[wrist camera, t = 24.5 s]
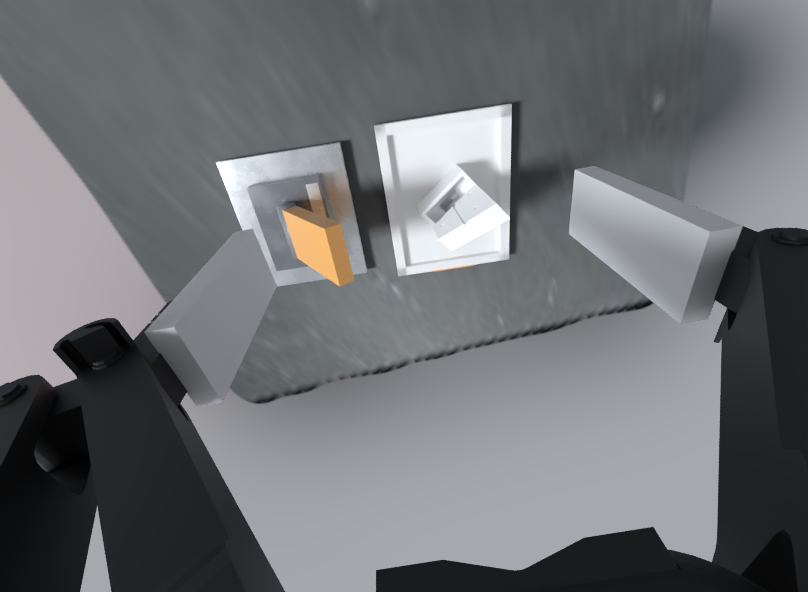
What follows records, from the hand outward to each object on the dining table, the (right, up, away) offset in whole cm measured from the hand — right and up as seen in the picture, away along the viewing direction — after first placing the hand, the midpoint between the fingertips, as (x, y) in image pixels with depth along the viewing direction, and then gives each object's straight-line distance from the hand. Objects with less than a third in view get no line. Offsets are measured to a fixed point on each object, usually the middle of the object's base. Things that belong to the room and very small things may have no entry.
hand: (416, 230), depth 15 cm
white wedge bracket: (+4, +8, +23) cm, 25 cm away
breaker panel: (-12, +6, +23) cm, 27 cm away
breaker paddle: (-11, +4, +20) cm, 24 cm away
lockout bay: (+4, +8, +23) cm, 25 cm away
